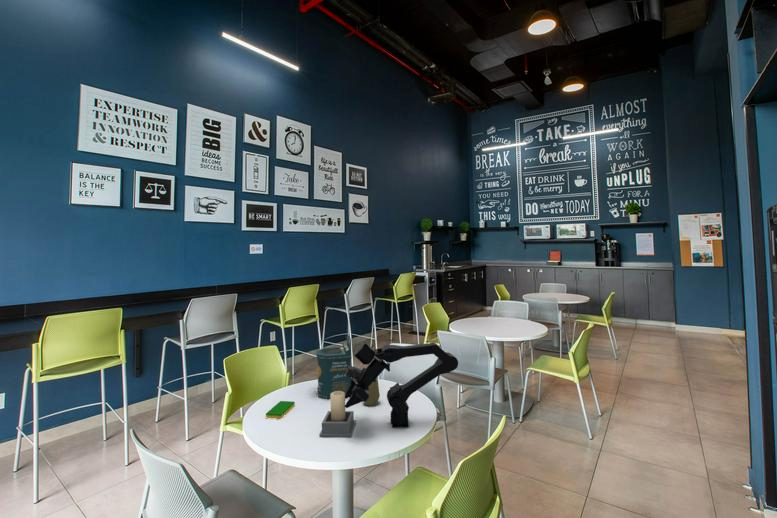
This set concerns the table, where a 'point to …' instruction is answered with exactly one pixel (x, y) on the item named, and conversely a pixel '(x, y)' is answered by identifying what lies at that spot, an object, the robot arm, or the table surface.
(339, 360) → the dark green canister
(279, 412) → the dish sponge
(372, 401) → the squeeze bottle
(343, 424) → the square tray
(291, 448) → the table surface
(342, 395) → the paper roll
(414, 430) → the table surface
